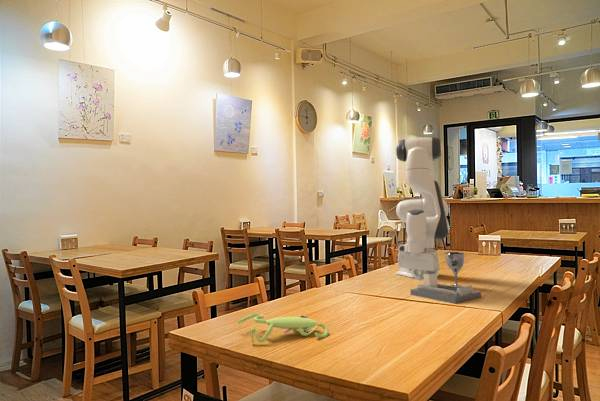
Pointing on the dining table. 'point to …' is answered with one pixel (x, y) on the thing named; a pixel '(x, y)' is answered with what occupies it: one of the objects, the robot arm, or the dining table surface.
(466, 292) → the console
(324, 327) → the figurine
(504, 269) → the dining table surface
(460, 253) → the wine glass
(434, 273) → the fader tab
